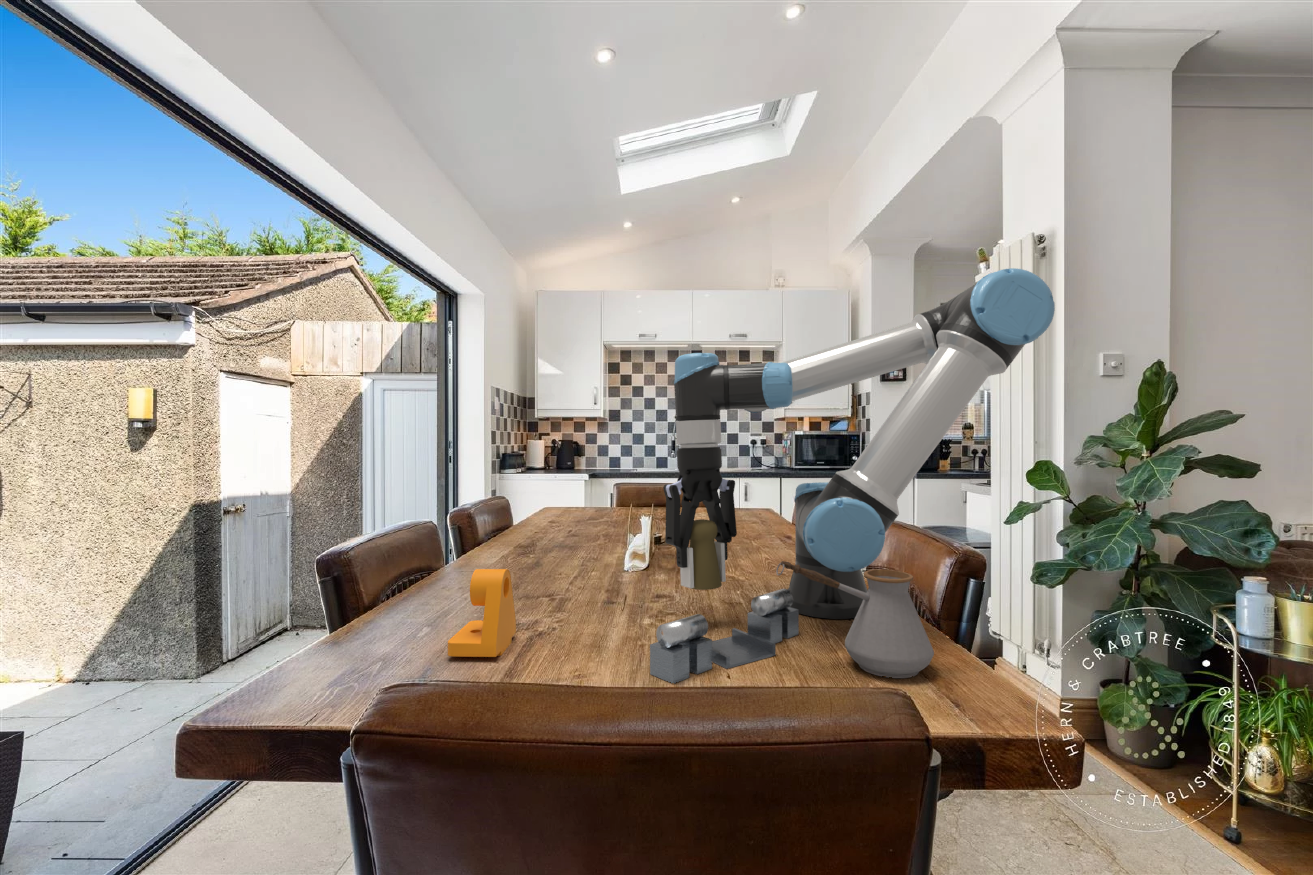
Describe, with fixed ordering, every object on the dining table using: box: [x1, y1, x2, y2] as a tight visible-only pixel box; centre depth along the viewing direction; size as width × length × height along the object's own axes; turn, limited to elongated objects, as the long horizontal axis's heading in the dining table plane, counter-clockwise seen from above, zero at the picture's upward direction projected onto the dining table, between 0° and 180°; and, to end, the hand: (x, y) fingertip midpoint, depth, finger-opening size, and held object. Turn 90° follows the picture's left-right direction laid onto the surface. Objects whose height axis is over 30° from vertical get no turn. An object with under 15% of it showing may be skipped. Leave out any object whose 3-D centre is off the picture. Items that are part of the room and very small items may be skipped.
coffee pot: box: [775, 560, 935, 679], centre depth 83 cm, size 21×12×15 cm, turn 95°
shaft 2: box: [747, 588, 800, 644], centre depth 97 cm, size 8×4×7 cm, turn 133°
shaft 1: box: [649, 613, 713, 684], centre depth 82 cm, size 8×4×7 cm, turn 133°
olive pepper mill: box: [689, 518, 723, 591], centre depth 102 cm, size 6×6×11 cm
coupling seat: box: [712, 627, 777, 670], centre depth 90 cm, size 9×9×2 cm
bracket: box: [447, 568, 517, 658], centre depth 92 cm, size 11×7×12 cm, turn 178°
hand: (703, 583), depth 103 cm, fingers closed on olive pepper mill, 6 cm apart
